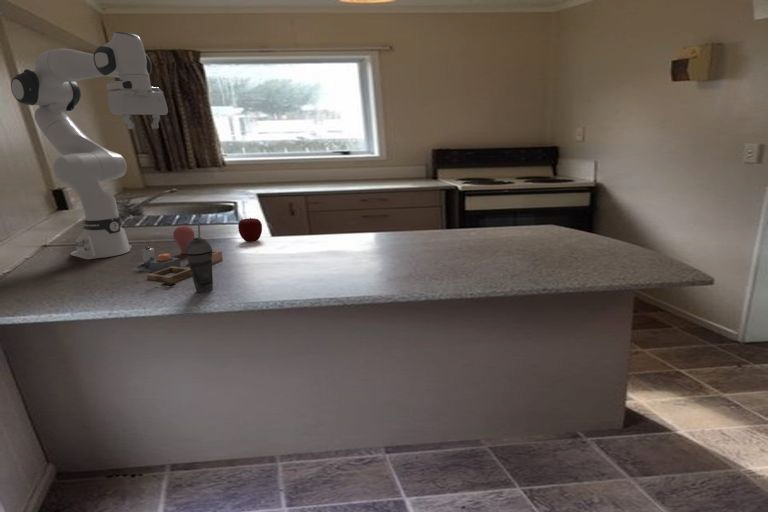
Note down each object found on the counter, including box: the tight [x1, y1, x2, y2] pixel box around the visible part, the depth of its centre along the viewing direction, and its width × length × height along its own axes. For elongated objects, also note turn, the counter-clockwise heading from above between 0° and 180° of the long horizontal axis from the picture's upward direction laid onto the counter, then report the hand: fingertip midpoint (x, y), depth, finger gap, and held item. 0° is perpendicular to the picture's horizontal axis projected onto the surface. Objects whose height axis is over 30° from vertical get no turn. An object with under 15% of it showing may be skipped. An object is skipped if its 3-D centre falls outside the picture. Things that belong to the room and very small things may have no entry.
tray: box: [146, 266, 192, 287], centre depth 143 cm, size 9×9×3 cm
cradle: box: [130, 256, 186, 273], centre depth 153 cm, size 14×10×4 cm
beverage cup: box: [184, 222, 214, 294], centre depth 131 cm, size 7×7×20 cm
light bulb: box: [173, 225, 195, 255], centre depth 169 cm, size 7×7×12 cm
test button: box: [157, 252, 171, 262], centre depth 151 cm, size 4×4×2 cm
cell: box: [141, 246, 157, 268], centre depth 154 cm, size 4×4×7 cm
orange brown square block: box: [186, 250, 224, 266], centre depth 158 cm, size 8×8×4 cm
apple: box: [237, 217, 263, 243], centre depth 190 cm, size 10×10×10 cm
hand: (143, 128), depth 155 cm, fingers open, 8 cm apart
